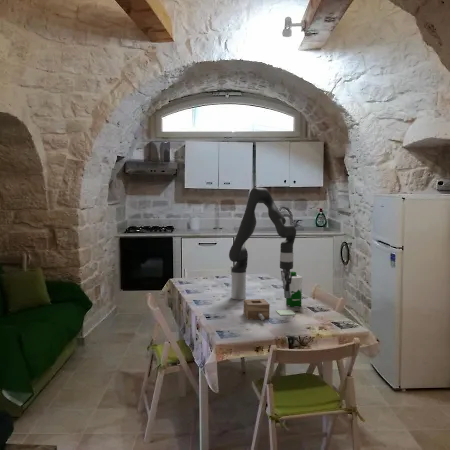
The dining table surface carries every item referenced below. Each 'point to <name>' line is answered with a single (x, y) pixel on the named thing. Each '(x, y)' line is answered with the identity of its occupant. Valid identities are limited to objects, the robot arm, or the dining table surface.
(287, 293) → the key peg
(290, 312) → the pad
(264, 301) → the brown wooden block
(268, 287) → the dining table surface
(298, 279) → the milk carton
